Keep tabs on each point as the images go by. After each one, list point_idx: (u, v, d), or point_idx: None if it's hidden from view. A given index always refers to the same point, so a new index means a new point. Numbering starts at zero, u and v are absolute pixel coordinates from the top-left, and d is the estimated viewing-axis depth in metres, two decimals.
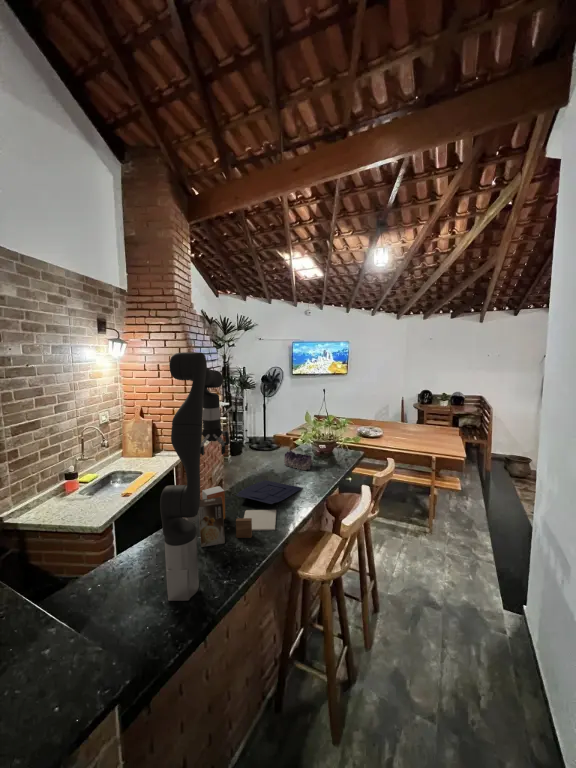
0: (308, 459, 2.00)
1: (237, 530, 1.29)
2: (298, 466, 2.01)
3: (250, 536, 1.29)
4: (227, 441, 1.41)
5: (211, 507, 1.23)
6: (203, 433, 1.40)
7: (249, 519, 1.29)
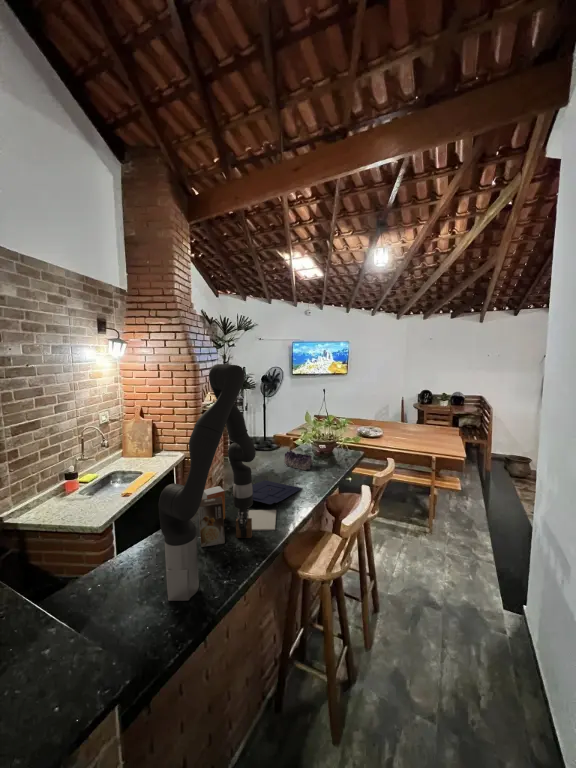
0: (308, 459, 2.00)
1: (237, 530, 1.29)
2: (298, 466, 2.01)
3: (250, 536, 1.29)
4: None
5: (211, 507, 1.23)
6: (245, 513, 1.26)
7: (249, 519, 1.29)
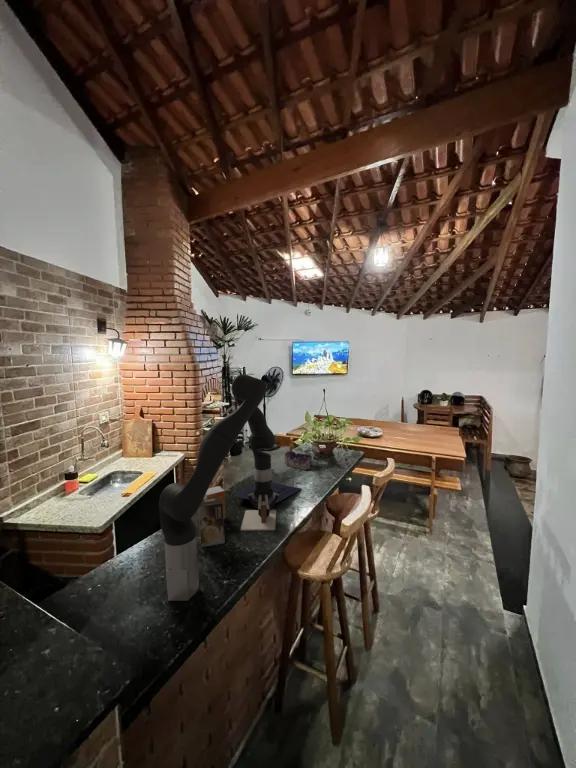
0: (308, 459, 2.01)
1: None
2: (298, 466, 2.02)
3: None
4: None
5: (211, 507, 1.23)
6: None
7: (263, 511, 1.38)
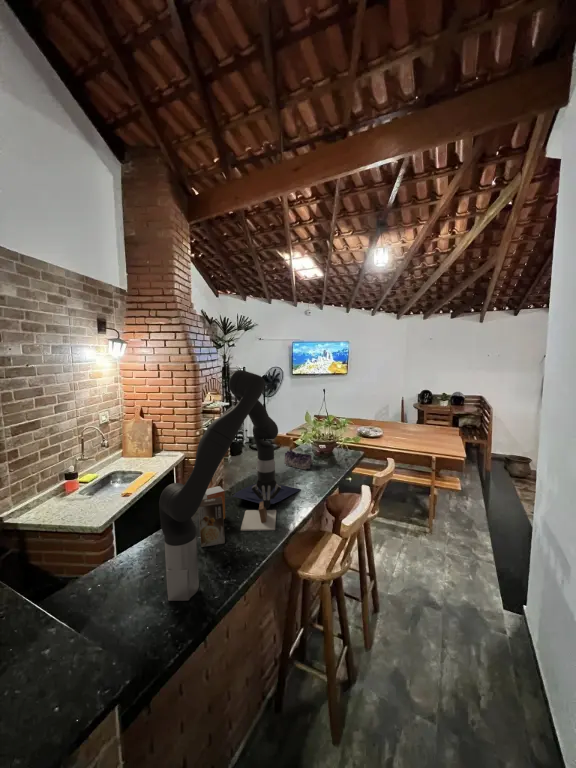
0: (308, 458, 2.01)
1: (266, 516, 1.43)
2: (298, 465, 2.02)
3: None
4: None
5: (211, 507, 1.23)
6: None
7: (261, 510, 1.38)
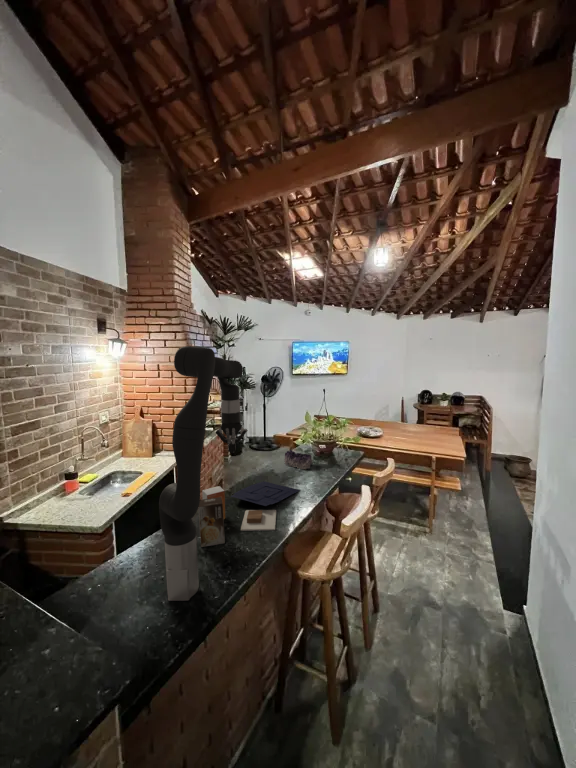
0: (308, 458, 2.02)
1: (260, 513, 1.43)
2: (298, 465, 2.03)
3: (249, 511, 1.45)
4: None
5: (211, 507, 1.23)
6: None
7: (248, 520, 1.39)
